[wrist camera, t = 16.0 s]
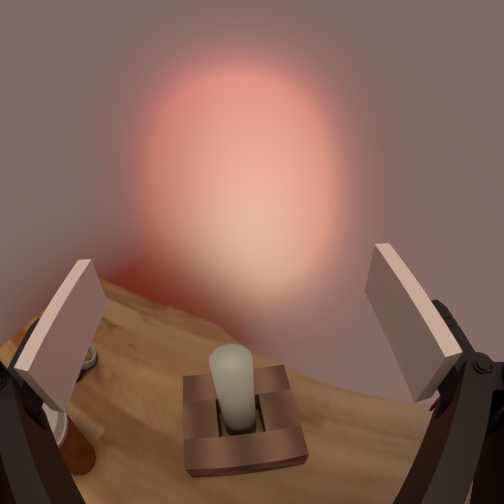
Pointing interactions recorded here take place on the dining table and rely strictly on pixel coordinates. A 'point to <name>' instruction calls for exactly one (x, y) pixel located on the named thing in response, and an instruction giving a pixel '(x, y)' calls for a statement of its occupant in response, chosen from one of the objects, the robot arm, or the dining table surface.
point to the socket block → (247, 445)
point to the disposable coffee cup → (70, 442)
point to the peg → (234, 387)
